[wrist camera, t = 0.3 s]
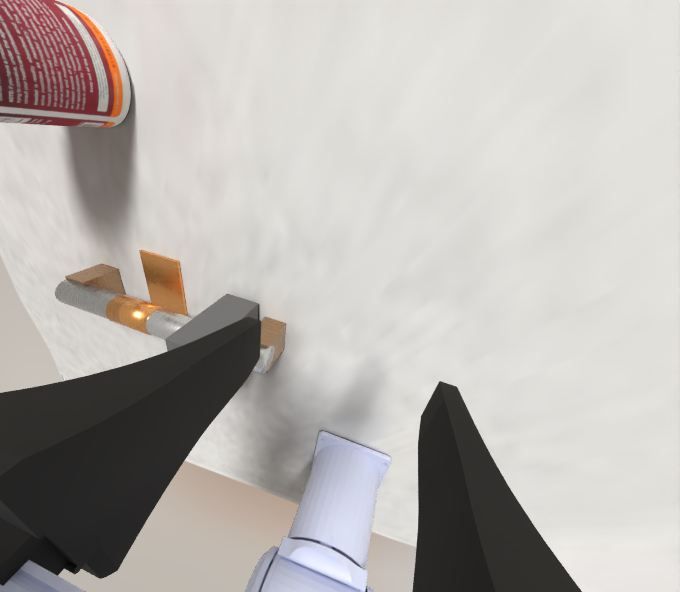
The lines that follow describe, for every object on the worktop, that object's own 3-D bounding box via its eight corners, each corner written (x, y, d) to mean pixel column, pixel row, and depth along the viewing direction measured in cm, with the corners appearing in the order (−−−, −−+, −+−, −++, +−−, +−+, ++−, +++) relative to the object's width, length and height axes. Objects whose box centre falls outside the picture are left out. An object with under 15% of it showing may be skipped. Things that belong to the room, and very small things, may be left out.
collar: (258, 303, 23) (204, 353, 18) (257, 354, 26) (211, 410, 21) (227, 293, 24) (165, 338, 18) (230, 345, 27) (177, 397, 21)
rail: (288, 294, 22) (260, 324, 19) (282, 371, 27) (258, 407, 23) (92, 234, 25) (34, 250, 22) (117, 312, 30) (72, 336, 26)
